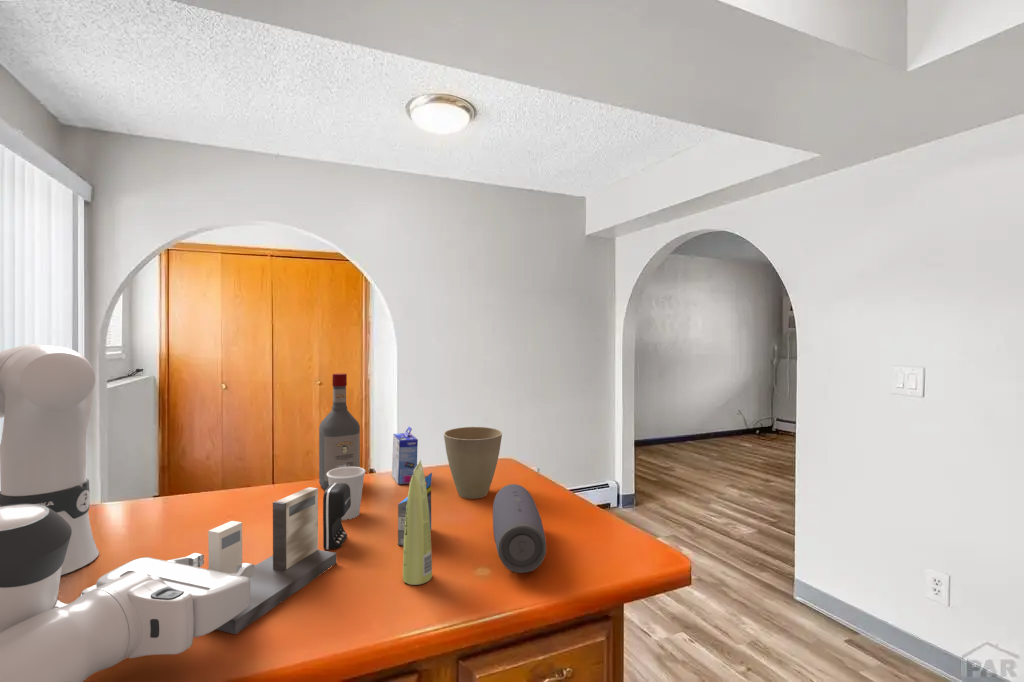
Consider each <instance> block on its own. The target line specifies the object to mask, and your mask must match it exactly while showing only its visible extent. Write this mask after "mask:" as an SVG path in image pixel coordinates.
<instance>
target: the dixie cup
mask: <svg viewBox="0 0 1024 682" xmlns="http://www.w3.org/2000/svg"><path fill="white" fill-rule="evenodd" d="M365 474H366V469H364V468H363V467H340V468H336V469H332V470H330V471H328V472H327V476H328V482H329V486H330V485H331V484H333V483H345V484H348V485H349V487H350V495H351V506H350V508H349V509H348V511H347V512H346V514H345V515H344V516H343V517H342V521H348V520H347V519H349V520H353V519H356V518H358V517H359V516H360V511H361V510H360V509H361V504H362V496H363V495H362V494H363V487H364V479H365ZM357 516H358V517H357ZM355 517H356V518H355ZM352 518H353V519H352Z"/></svg>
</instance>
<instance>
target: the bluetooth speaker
mask: <svg viewBox="0 0 1024 682" xmlns="http://www.w3.org/2000/svg"><path fill="white" fill-rule="evenodd" d="M542 521H543V519H542V517H541V515H540V512H539V509H538V507H537V504H536V502H535V500H534V498H533V496H532V494H531V493H530V492H529V490H528V489H526V488H525V487H524V486H522V485H519V484H516V483H510V484H506V485H504V486H503V487H501V488H500V489H499V490H498V492H497V493H496V495H495V496H494V498H493V504H492V527H493V529H492V530H493V539H494V543H495V548H496V552H497V556H498V558H499V560H500V561H501V563H502V565H503V566H504V568H506V569H507V570H509V571H511V572H513V573H519V574H522V573H523V574H525V573H531V572H533V571H534V570H536V569H537V568H538V567H539V566H541V565H542V563H543V562H544V560H545V557H546V554H547V541H546V535H545V531H544V525H543V522H542Z"/></svg>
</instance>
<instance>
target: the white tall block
mask: <svg viewBox="0 0 1024 682" xmlns="http://www.w3.org/2000/svg"><path fill="white" fill-rule="evenodd" d="M207 532H208V533H207V534H208V536H207V537H208V539H207V540H208V542H207V544H208V569H209V570H214V571H219V572H224V573H229V574H232V573H235V574H236V573H237V566H239V565H242V564H243V522H241V521H236V520H230V521H228V522H225V523H224V524H221V525H219V526H216V527H214V528H212V529H211V528H210V529H209V530H208V531H207Z"/></svg>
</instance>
